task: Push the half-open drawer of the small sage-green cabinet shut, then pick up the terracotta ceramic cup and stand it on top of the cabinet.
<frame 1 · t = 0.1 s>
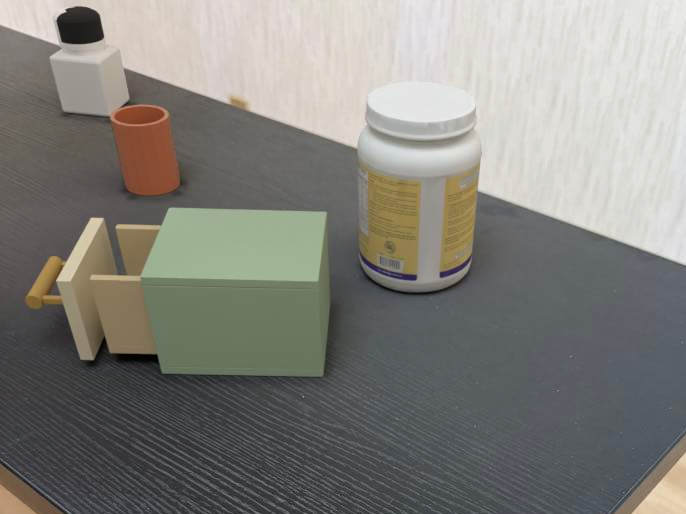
cup: (153, 184, 99), on the table
drawer: (137, 289, 74), point 5 cm above the table, slide at 6.0 cm
medicine bottle: (97, 108, 116), on the table
supplement tub: (414, 269, 88), on the table
cabinet: (251, 336, 77), on the table
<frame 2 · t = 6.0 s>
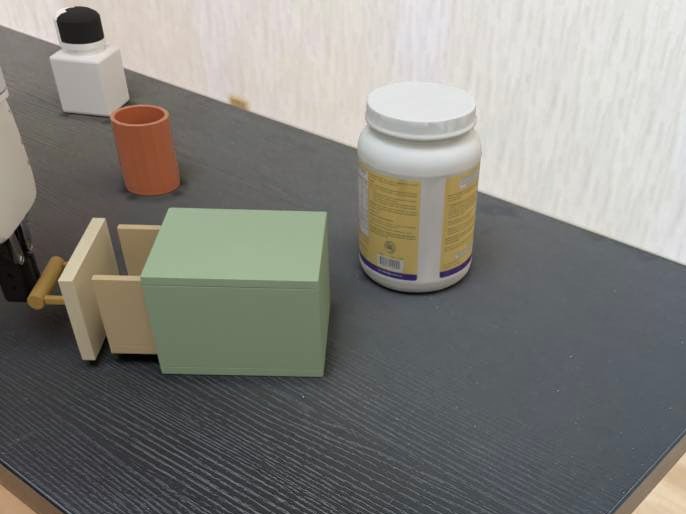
hand: (26, 297, 74), 4 cm above the table, tool pointing down, fingers closed
drawer: (138, 289, 74), point 5 cm above the table, slide at 5.8 cm, touching gripper
everything else where it was.
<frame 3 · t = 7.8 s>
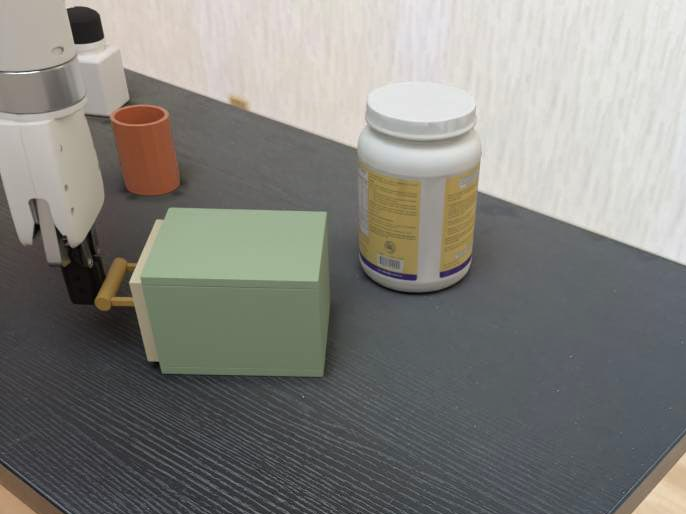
hand: (91, 300, 74), 4 cm above the table, tool pointing down, fingers closed
drawer: (203, 290, 74), point 5 cm above the table, slide at 0.0 cm, touching cabinet, gripper
everything else where it was.
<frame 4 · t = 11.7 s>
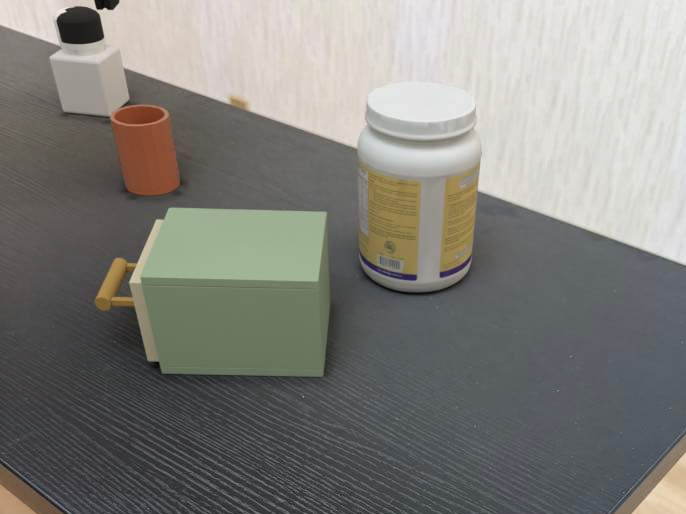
hand: (108, 5, 82), 20 cm above the table, tool pointing down, fingers closed
drawer: (203, 290, 74), point 5 cm above the table, slide at 0.0 cm, touching cabinet
everything else where it was.
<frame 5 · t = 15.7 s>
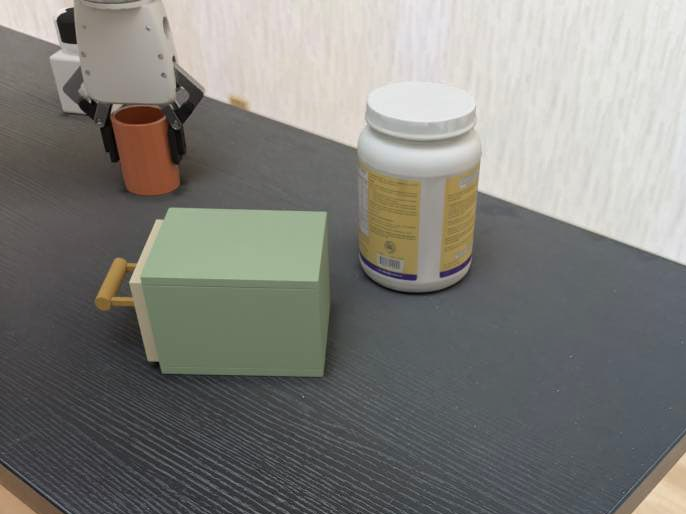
hand: (147, 158, 97), 3 cm above the table, tool pointing down, fingers closed on cup, 6 cm apart
cup: (153, 184, 99), on the table, touching gripper
everything else where it was.
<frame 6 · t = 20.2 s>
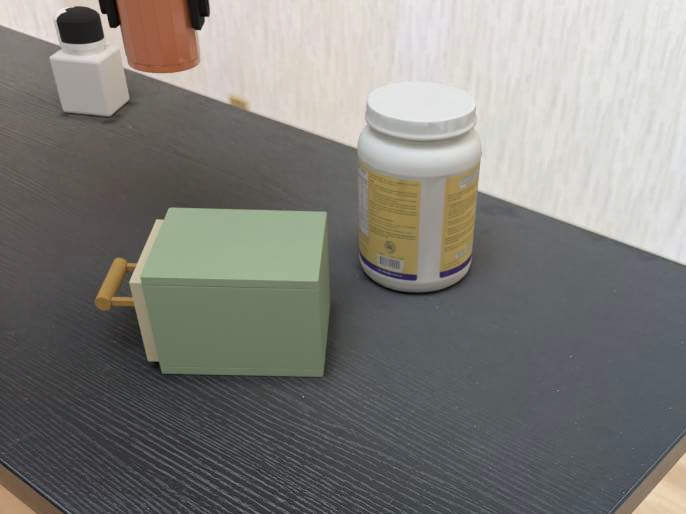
hand: (158, 22, 73), 22 cm above the table, tool pointing down, fingers closed on cup, 6 cm apart
cup: (164, 61, 75), point 19 cm above the table, touching gripper
everything else where it was.
when the fingers open (13 cm above the table, at t = 24.9 s): cup stays where it is, resting on cabinet.
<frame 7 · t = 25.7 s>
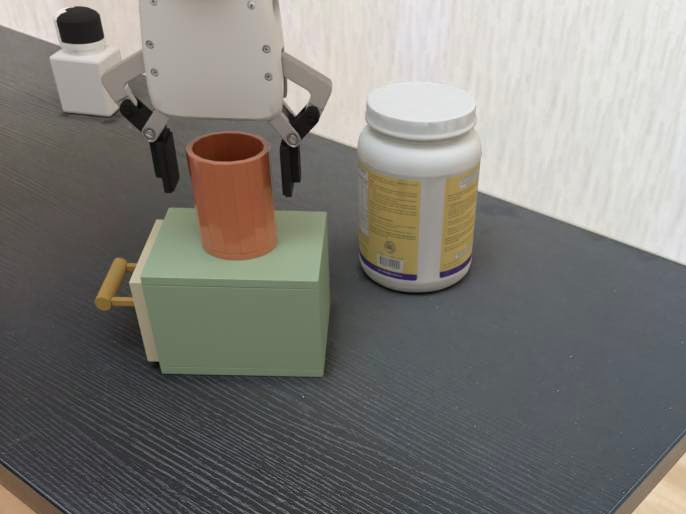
hand: (230, 188, 67), 14 cm above the table, tool pointing down, fingers open, 9 cm apart
cup: (239, 241, 70), point 10 cm above the table, touching cabinet
everything else where it was.
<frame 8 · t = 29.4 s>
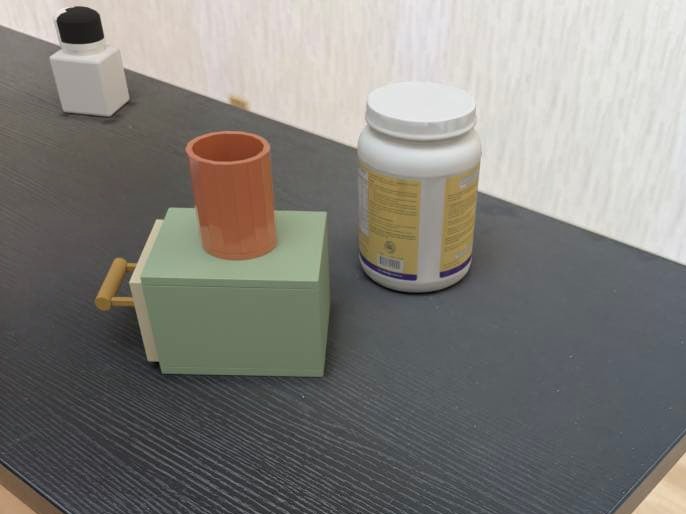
nothing on the table moved.
at the end: drawer slide at 0.0 cm; cup inside the target area on the cabinet (0.0 cm from its centre), point 9.6 cm above the cabinet's base; cup tilted 0° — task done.
